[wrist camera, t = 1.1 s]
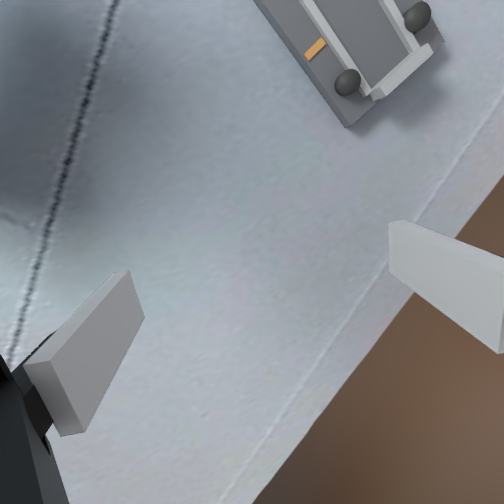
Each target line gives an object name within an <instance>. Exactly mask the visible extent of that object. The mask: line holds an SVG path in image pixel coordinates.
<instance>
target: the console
mask: <svg viewBox="0 0 504 504" xmlns="http://www.w3.org/2000/svg"><path fill="white" fill-rule="evenodd" d="M253 1H254V2H255V3H256V5H257V6H258V8H259V9H260V10H261V12H262V13H263V14H264V16H265V17H266V19H267V20H268V21H269V23H270V24H271V26H272V27H273V28H274V30H275V31H276V32H277V34H278V35H279V37H280V38H281V39H282V41H283V42H284V44H285V45H286V46H287V48H288V49H289V51H290V52H291V53H292V55H293V56H294V57H295V59H296V60H297V62H298V63H299V64H300V66H301V67H302V69H303V70H304V71H305V73H306V74H307V75H308V77H309V78H310V80H311V81H312V82H313V84H314V85H315V87H316V88H317V89H318V91H319V92H320V94H321V95H322V96H323V98H324V99H325V100H326V102H327V103H328V105H329V106H330V107H331V109H332V110H333V112H334V113H335V114H336V116H337V117H338V118H339V120H340V121H341V123H342V124H343V125H344V127H349V126H352V125H353V124H354V123H355V122H356V121H357V120H358V119H359V118H360V117H362V116H363V115H364V114H365V113H366V112H367V111H368V110H369V109H370V108H371V107H373V106H374V105H375V104H376V103H377V102H378V101H379V100H380V99H381V98H383V97H386V96H387V95H388V94H389V93H390V92H392V91H393V90H394V89H395V88H396V87H397V86H398V85H399V84H400V83H401V82H403V81H404V80H405V79H406V78H407V77H408V76H409V75H410V74H411V73H413V72H414V71H415V70H416V69H417V68H418V67H419V66H420V65H421V64H422V63H424V62H425V61H426V60H427V59H428V58H429V57H430V56H431V55H432V54H433V51H434V50H435V49H436V48H437V47H438V46H440V45H441V44H442V43H443V42H444V39H443V37H442V36H441V34H440V32H439V30H438V28H437V27H436V25H435V23H434V21H433V19H432V17H431V9H430V7H429V5H428V4H427V3H425V2H423V1H422V0H253Z"/></svg>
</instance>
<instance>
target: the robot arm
mask: <svg viewBox="0 0 504 504" xmlns="http://www.w3.org/2000/svg"><path fill="white" fill-rule="evenodd" d="M388 230H389V273H391V274H392V275H393V276H395V277H396V278H397V279H399V280H400V281H401V282H403V283H404V284H405V285H407V286H408V287H409V288H411V289H412V290H413V291H415V292H416V293H417V294H419V295H420V296H421V297H423V298H424V299H425V300H427V301H428V302H429V303H431V304H432V305H433V306H434V307H436V308H437V309H439V310H440V311H441V312H443V313H444V314H445V315H447V316H448V317H449V318H451V319H452V320H453V321H454V322H456V323H457V324H459V325H460V326H461V327H462V328H464V329H465V330H466V331H468V332H469V333H471V334H472V335H473V336H474V337H476V338H477V339H478V340H480V341H481V342H482V343H484V344H485V345H486V346H488V347H489V348H490V349H492V350H493V351H494V352H496V353H497V354H500V353H504V257H502V256H499V255H497V254H494V253H491V252H487V251H484V250H481V249H479V248H476V247H474V246H471V245H468V244H466V243H463V242H460V241H458V240H455V239H453V238H450V237H448V236H445V235H442V234H440V233H437V232H435V231H432V230H429V229H427V228H424V227H422V226H419V225H416V224H414V223H411V222H408V221H406V220H398V221H393V222H388ZM144 318H145V317H144V314H143V311H142V308H141V305H140V302H139V299H138V296H137V293H136V290H135V287H134V284H133V281H132V278H131V275H130V272H129V270H126V271H120V272H115V273H113V274H112V275H111V276H110V277H109V278H108V279H107V280H106V281H105V282H104V283H103V284H102V285H101V286H100V287H99V288H98V289H97V290H96V291H95V292H94V293H93V294H92V295H91V296H90V297H89V298H88V299H87V300H86V301H85V302H84V303H83V304H82V305H81V306H80V307H79V308H78V309H77V310H76V311H75V312H74V314H73V315H72V316H71V317H70V318H69V319H68V320H67V321H66V322H65V323H64V324H63V325H62V326H61V327H60V328H59V329H58V330H56V331H55V332H53V333H52V334H50V335H49V336H48V337H47V338H46V339H45V340H44V341H43V342H42V343H41V344H40V345H39V347H37V348H36V349H35V350H34V351H33V352H32V353H31V355H29V356H28V357H27V358H26V359H25V360H24V361H23V362H22V363H21V364H20V365H19V366H18V367H17V368H16V369H15V370H14V371H13V372H12V373H11V372H10V370H9V368H8V367H7V365H6V363H5V361H4V359H3V358H2V356H1V355H0V504H69V501H68V498H67V495H66V492H65V489H64V486H63V482H62V479H61V476H60V473H59V470H58V467H57V464H56V461H55V457H54V454H53V451H52V448H51V445H50V442H49V441H48V439H47V437H46V435H45V434H46V432H47V431H48V429H49V428H50V426H51V425H52V423H53V424H54V426H55V427H56V429H57V431H58V433H59V435H60V437H62V436H68V435H73V434H78V433H84V432H85V431H86V429H87V427H88V426H89V424H90V422H91V420H92V418H93V416H94V414H95V412H96V410H97V408H98V406H99V404H100V403H101V401H102V399H103V397H104V395H105V393H106V391H107V389H108V387H109V385H110V383H111V381H112V380H113V378H114V376H115V374H116V372H117V370H118V368H119V366H120V364H121V362H122V360H123V359H124V357H125V355H126V353H127V351H128V349H129V347H130V345H131V343H132V341H133V339H134V337H135V336H136V334H137V332H138V330H139V328H140V326H141V324H142V322H143V320H144Z"/></svg>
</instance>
